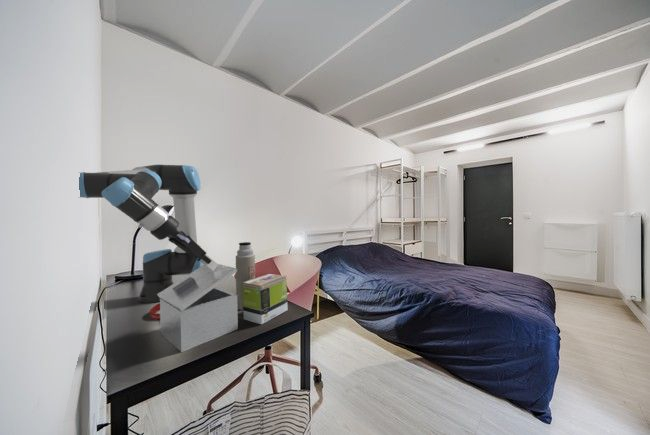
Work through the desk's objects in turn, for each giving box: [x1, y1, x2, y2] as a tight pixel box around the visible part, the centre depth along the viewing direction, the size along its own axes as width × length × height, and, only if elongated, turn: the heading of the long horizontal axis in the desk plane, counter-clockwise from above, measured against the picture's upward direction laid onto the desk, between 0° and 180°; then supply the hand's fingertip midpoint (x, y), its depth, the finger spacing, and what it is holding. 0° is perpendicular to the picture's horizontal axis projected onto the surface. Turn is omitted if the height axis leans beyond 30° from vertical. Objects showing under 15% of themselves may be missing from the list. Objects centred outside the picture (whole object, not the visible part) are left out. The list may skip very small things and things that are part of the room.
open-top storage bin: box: [159, 286, 239, 353], centre depth 83 cm, size 18×18×12 cm
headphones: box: [149, 302, 160, 321], centre depth 102 cm, size 15×7×20 cm
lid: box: [157, 263, 237, 311], centre depth 82 cm, size 20×20×3 cm
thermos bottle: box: [235, 241, 256, 311], centre depth 105 cm, size 8×8×28 cm
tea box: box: [242, 273, 288, 325], centre depth 95 cm, size 15×10×15 cm, turn 149°
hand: (214, 267), depth 86 cm, fingers closed
